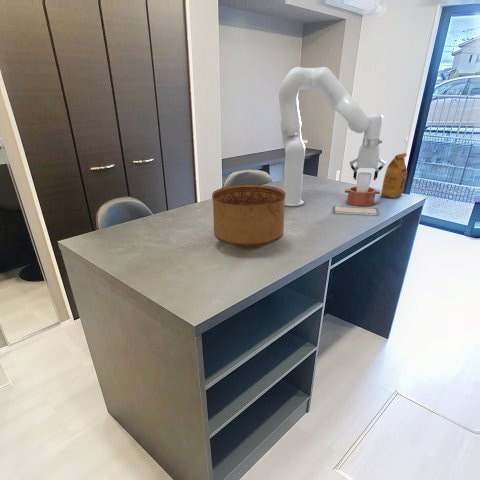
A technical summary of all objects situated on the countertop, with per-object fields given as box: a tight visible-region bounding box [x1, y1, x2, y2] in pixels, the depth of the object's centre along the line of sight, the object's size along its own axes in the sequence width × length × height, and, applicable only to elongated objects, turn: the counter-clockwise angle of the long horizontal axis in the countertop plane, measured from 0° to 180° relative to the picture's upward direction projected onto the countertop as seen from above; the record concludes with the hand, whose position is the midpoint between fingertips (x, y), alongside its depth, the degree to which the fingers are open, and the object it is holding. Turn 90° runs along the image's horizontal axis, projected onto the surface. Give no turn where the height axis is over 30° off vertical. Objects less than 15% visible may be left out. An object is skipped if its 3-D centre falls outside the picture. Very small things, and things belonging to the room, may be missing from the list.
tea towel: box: [334, 205, 378, 216], centre depth 178 cm, size 20×12×1 cm, turn 77°
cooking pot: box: [344, 186, 381, 207], centre depth 187 cm, size 18×14×7 cm
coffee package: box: [380, 152, 408, 199], centre depth 193 cm, size 10×12×22 cm
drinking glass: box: [355, 171, 373, 193], centre depth 185 cm, size 7×7×15 cm
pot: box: [211, 184, 286, 250], centre depth 138 cm, size 28×28×20 cm
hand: (364, 179), depth 182 cm, fingers open, 9 cm apart
